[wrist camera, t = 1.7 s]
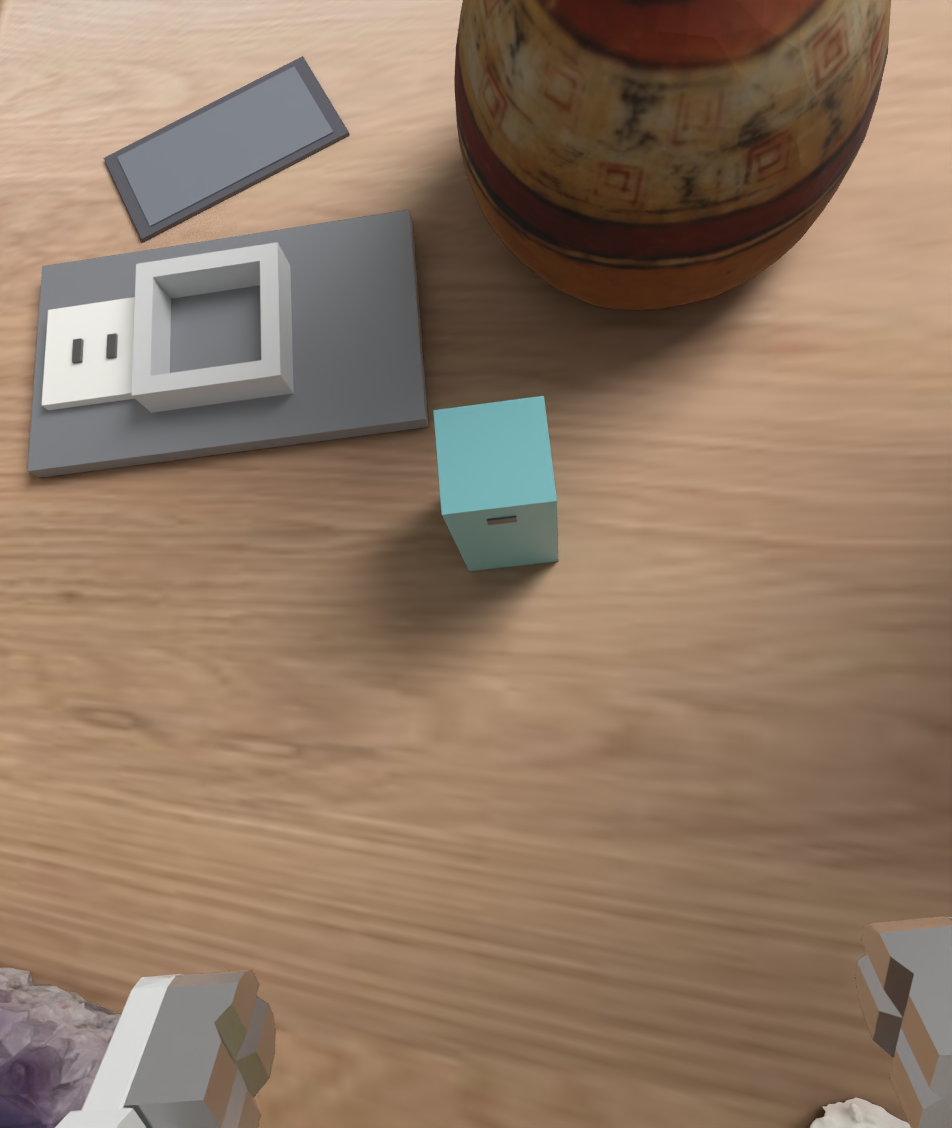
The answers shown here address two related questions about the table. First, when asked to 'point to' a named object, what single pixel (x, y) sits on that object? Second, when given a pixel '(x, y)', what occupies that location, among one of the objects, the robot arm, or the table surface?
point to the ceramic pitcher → (661, 134)
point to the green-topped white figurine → (857, 1116)
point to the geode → (47, 1050)
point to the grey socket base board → (228, 346)
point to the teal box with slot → (498, 482)
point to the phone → (224, 148)
